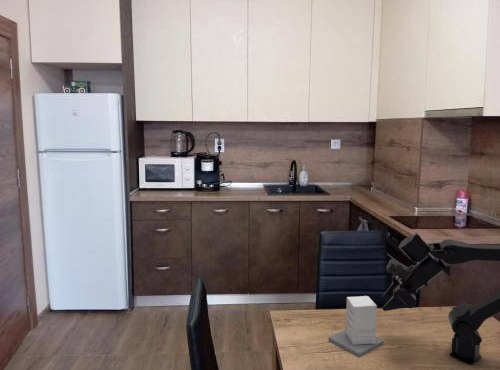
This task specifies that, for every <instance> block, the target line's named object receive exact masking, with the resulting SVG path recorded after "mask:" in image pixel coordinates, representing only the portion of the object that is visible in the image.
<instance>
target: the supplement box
mask: <svg viewBox="0 0 500 370" xmlns="http://www.w3.org/2000/svg"><path fill="white" fill-rule="evenodd" d="M377 307H378V305H377V304H376V303H375V302H374V301H373V300H372V299H371V298H370V296H368V295H363V296H362V295H360V296H347V297H346V308H345V309H346V312H345V313H346V315H345V316H346V317H345V320H346V321H345V329H346V334H347V336H348V337H349V339H350V341H351V342H352V344H353V345H358V344H375V341H376V337H377V315H378V314H377V309H378V308H377Z"/></svg>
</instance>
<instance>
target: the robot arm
mask: <svg viewBox="0 0 500 370" xmlns="http://www.w3.org/2000/svg"><path fill="white" fill-rule="evenodd" d="M398 248H399V250H401V252H403V254H404V255H405V256H406V257H408V259H409V260H411V262H416V263H417V264H415V265H414V264H411V265H410V266H407V265H405V264H404V263H401V262H399V261H397V260H396V259H395V258H391V259H389V261H388V264H387V265H386V267H385V268H386V272H387V273H389V274H392V283H391V284H390V286H388V289H387V290H386V291H385V292H384V293H383V295H382V298H383V299H384V300H388V299H389V300H388V301H387V302H386V303H385V304H384V305H383V306H382V308H381V310H382V311H384V312H388V311H389V312H390V311H393V310H399V309H410V310H411V309H413V308H414V307H416V305H417V297H416V295H417V294H418V291H419V290H420V289H421V288H423V287H424V286H425V287H427V286H429V282H430V281H431V280H433V279H434V278H436V277H437V276H438V275H440V274H441V273H442V272H444V273H445V275H447V276H448V277H449V276H451V267H452V266H451V265H459V264H460V265H461V264H466V263H469V262H473V261H474V262H475V261H483V262H484V261H485V262H486V261H489V262H500V245H499V244H498V245H496V244H493V245H492V244H473V243H472V244H471V243H467V242H464V241H461V240H460V241H459V240H455V239H454V240H453V239H449V238H448V239H443V240H442V241H441V242H431V243H427V242H426V241H425V240H424V239H423V238H422V237H421V235H420V234H419V233H418V232H415V233H413V234H411V235H410V236H408V237H405V238H404V239H403V240H402V241H401V242H400V243H399V244H398ZM499 313H500V290H499V291H497V292H496V293H494V294H492V295H490V296H488V297H487V298H484V299H483V300H481V301H479V302H477V303H475V304H469V305H468V304H467V303H466V302H465V301H463V302H461V303H459V304H458V305H455V306H452V307H451V310H450V311H449V312H448V317H447V318H448V323H449V325H450V328H451V330H452V331H453V337H452V338H451V344H450V345H451V348H450V351H451V352H449V356H450V357H453V358H455V359H457V360H459V361H461V362H464V363H466V364H468V365H471V366H472V365H474V364H475V363H477V362H478V361H479V360H481V359H482V358H483V357H482V355H480V348H481V343H482V341H483V339H482V337H481V335H480V333H479V328H481V326H482V325H483V324H484V322H485V321H486V320H488V319H490V318H491V317H494V316H495V315H497V314H499Z"/></svg>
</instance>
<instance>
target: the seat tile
mask: <svg viewBox="0 0 500 370" xmlns="http://www.w3.org/2000/svg"><path fill="white" fill-rule="evenodd" d="M328 342H330V343H333V344H334V345H336V346H338V347H340V348H341V349H343V350H345V351H347V352H348V353H351V354H353V355H354V356H356V357H358V358H361V357H363V356H365V355H366V354H368V353H370V352H373V350H376V349H377V348H380V347H381V346H383V345H384V343H385V340H383V339H382V338H379V337H377V336H376V341H375V344H358V345H353V344H352V342H351V341H350V339H349V337H348V336H347V334H346V328H345V329H344V330H342V331H341V330H340V331H339V332H337V333H334V334H333V335H331V336H328Z"/></svg>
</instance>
